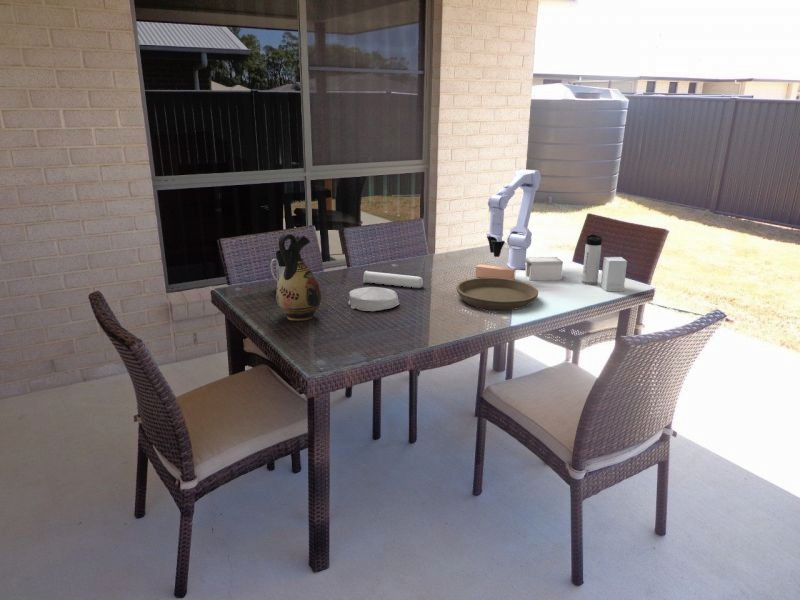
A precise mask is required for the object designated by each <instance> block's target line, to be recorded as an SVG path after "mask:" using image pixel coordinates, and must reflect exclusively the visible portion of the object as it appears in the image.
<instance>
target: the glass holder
mask: <svg viewBox="0 0 800 600" xmlns="http://www.w3.org/2000/svg"><path fill="white" fill-rule="evenodd" d="M287 250H288V249H286V251H287ZM287 254H288V257H289V259H290V256H291V253H289V252H287ZM274 261H275V263H276V264H275V267H276V268H275V269H276V271H275V272H276V276H275V273H274V269H273V263H274ZM284 269H285V262H284V261H283V257H282V255H281V252H280V250H276V251H275V258H272V260H271V261H270V271H271V275H272V278H273V279H274V280H276V283H277V284H278V281H279V279H280V276H281V274H282V273H283V271H284Z"/></svg>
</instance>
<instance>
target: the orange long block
mask: <svg viewBox="0 0 800 600" xmlns="http://www.w3.org/2000/svg"><path fill="white" fill-rule="evenodd" d="M515 270H516V269H513V268H510V267H503V266H496V265H488V264H477V265H476V266H475V274H474V275H475V276H474V277H475V278H504V279H511V280H515Z"/></svg>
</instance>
